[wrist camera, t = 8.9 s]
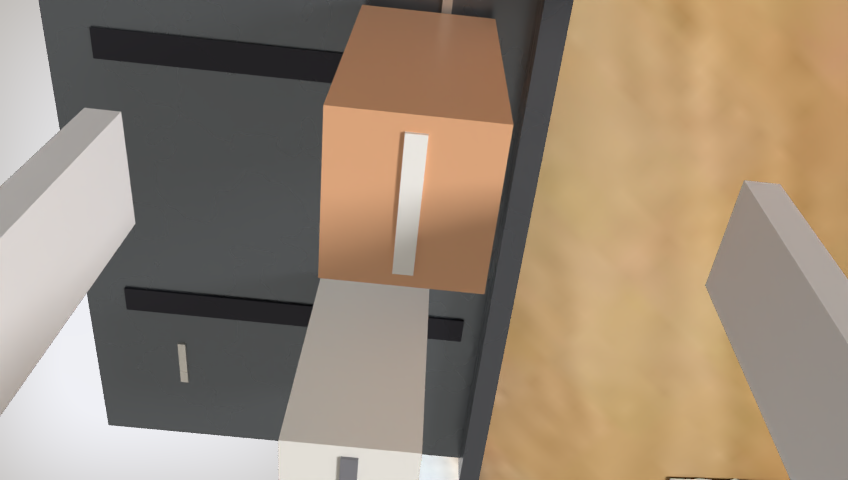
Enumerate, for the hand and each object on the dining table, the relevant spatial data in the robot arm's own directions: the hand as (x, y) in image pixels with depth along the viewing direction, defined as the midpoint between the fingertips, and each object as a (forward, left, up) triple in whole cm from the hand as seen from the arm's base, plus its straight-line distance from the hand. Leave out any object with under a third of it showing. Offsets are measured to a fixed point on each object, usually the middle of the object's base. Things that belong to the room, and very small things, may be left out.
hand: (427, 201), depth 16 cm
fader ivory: (+10, -1, -9) cm, 14 cm away
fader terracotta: (0, 0, -9) cm, 9 cm away
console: (+5, -4, -10) cm, 12 cm away
